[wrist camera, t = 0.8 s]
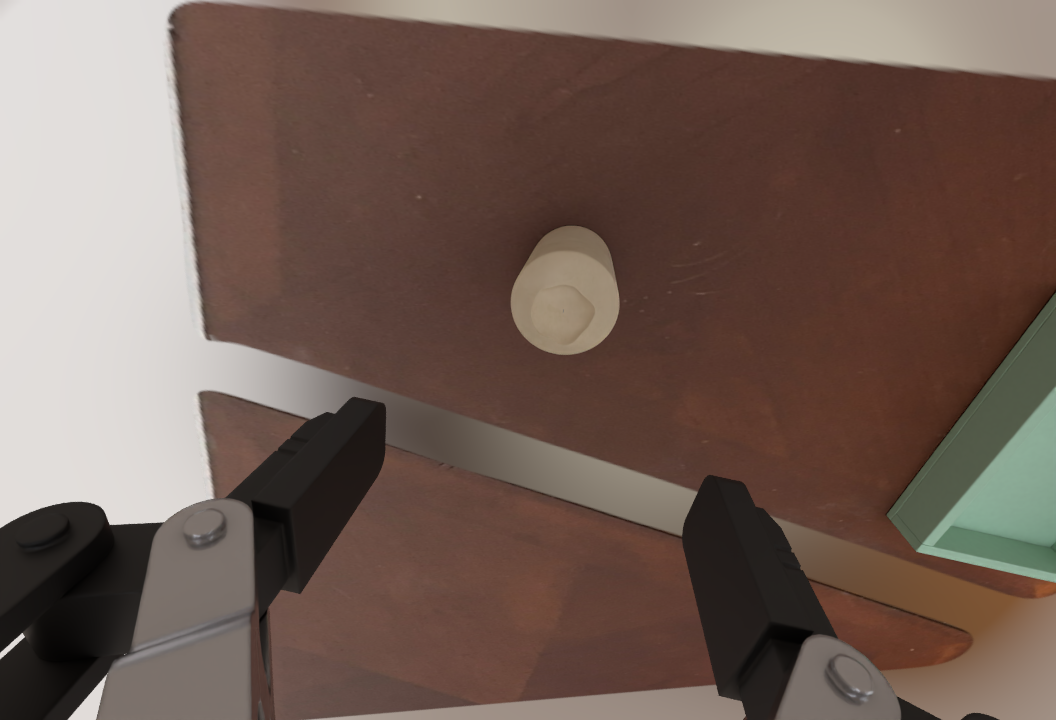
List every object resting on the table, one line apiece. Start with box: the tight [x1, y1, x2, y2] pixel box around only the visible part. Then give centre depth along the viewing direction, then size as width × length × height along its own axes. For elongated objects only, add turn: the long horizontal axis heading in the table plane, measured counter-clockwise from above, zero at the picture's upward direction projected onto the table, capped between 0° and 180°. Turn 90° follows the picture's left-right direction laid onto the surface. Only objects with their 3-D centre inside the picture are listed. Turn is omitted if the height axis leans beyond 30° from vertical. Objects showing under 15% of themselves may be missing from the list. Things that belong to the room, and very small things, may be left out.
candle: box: [511, 226, 619, 355], centre depth 25 cm, size 6×6×10 cm
